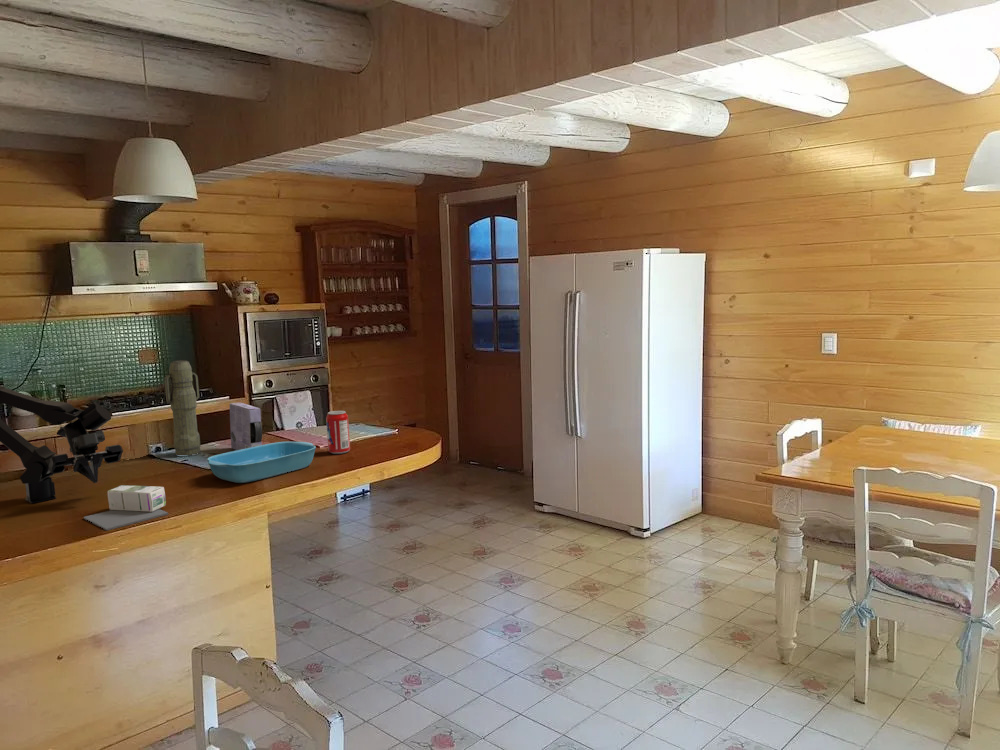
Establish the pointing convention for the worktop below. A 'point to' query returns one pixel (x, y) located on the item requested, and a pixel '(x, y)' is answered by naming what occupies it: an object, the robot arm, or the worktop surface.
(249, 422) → the cake pan box
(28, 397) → the robot arm
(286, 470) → the casserole dish
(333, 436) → the soda can
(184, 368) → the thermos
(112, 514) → the mat
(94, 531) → the worktop surface
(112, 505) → the syrup box
